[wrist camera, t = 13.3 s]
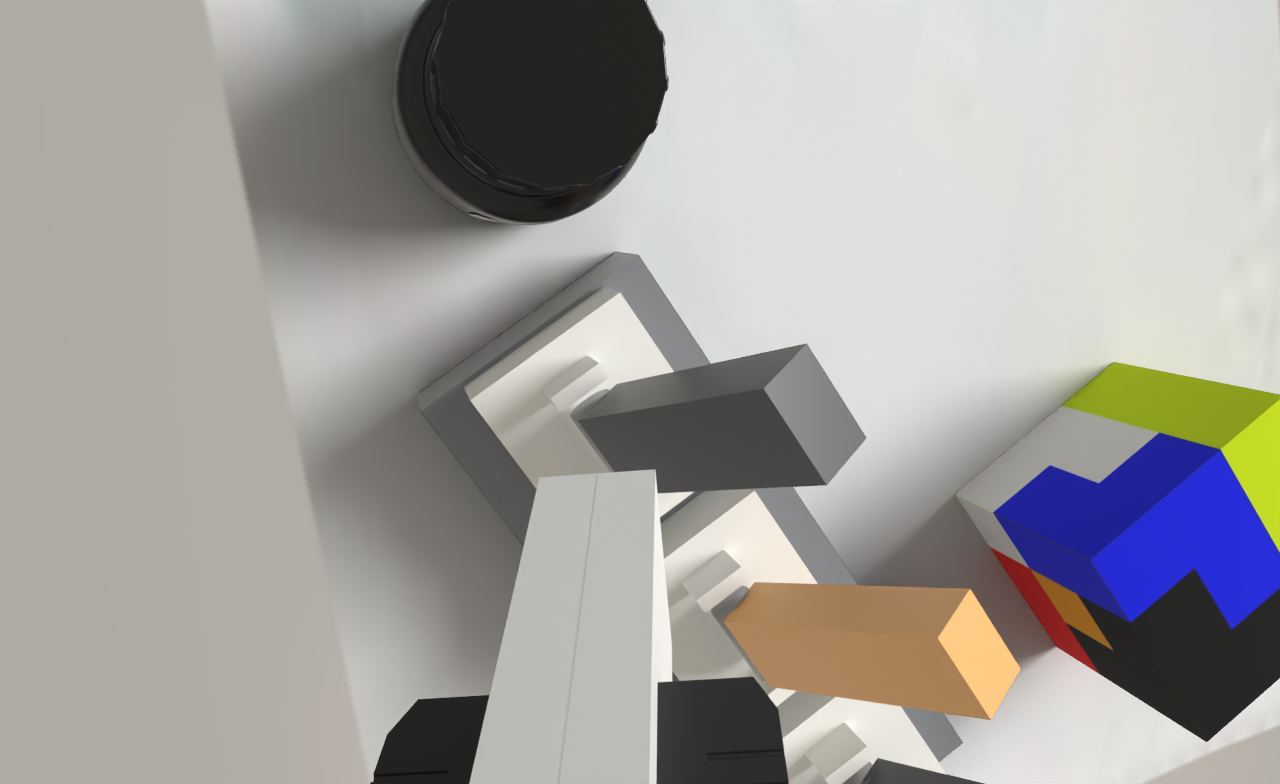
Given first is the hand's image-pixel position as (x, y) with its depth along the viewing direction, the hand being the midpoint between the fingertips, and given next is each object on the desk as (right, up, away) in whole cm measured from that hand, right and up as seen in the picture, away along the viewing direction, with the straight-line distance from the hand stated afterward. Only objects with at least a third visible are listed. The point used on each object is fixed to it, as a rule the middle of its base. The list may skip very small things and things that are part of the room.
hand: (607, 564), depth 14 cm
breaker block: (+3, -5, +33) cm, 34 cm away
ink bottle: (-5, +13, +28) cm, 32 cm away
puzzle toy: (+22, -3, +38) cm, 44 cm away
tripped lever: (+5, -7, +25) cm, 26 cm away
